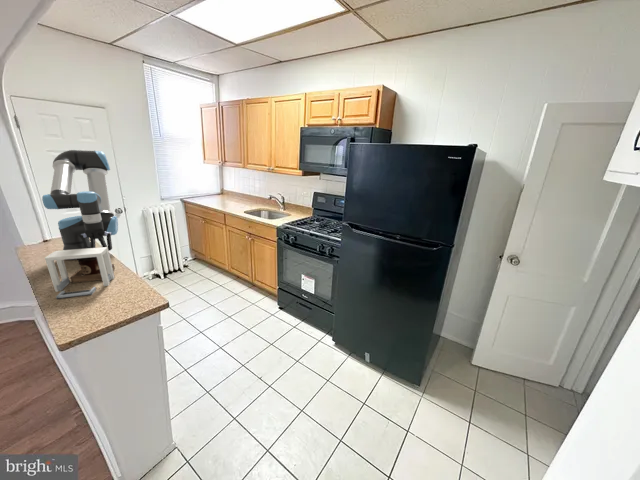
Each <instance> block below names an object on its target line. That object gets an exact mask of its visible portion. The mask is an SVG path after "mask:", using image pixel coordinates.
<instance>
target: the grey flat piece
mask: <svg viewBox="0 0 640 480" xmlns="http://www.w3.org/2000/svg"><path fill="white" fill-rule="evenodd" d="M96 291H97V288H96V286H93V287H92V288H91V289H83V290H73V291H67V292H65V290H61V291H59V293H58V294H57V295H55V298H56V300H61V299H63V300H64V299H70V298H71V299H72V298H78V297H87V296H93V294H94V293H95V292H96Z"/></svg>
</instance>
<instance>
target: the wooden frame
mask: <svg viewBox="0 0 640 480" xmlns="http://www.w3.org/2000/svg"><path fill="white" fill-rule="evenodd" d="M103 257H104V256H103ZM104 262H105V260H104ZM105 266H106V264H105ZM112 268H113V272H114V271H115V264H114V263H112ZM106 270H107V268H106ZM107 274H108V273H107ZM69 280H70V283H71V284H75V283H84V282H86V283H87V282H93V281H102V277H101V274H92V275H84V274H83V273H82V270H81V268H80V267H79V269H78V270H76V271H75V272H74V273H73V274H71V276H70V277H69Z"/></svg>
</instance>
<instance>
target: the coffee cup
mask: <svg viewBox="0 0 640 480" xmlns="http://www.w3.org/2000/svg"><path fill="white" fill-rule="evenodd" d="M75 261H77V262H78V265H79V269H80V268H81V270H82V273H83V274H82V275H92V274H101V272H100V268H99V264H98V260H97V257H89V258H77V259H76V260H75Z"/></svg>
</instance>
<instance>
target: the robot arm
mask: <svg viewBox="0 0 640 480" xmlns="http://www.w3.org/2000/svg"><path fill="white" fill-rule="evenodd" d="M52 168H53V170H54V171H53V176H52V182H51V188H50V193H49V194H48V193H47V194H43V196H42V197H41V200H42V204H43V207H44V208H45V209H47V210H63V209H64V210H65V209H79V210H80V214H81V215H76V216H75V215H74V216H70V217H66V218H62V219H60V220H59V221H58V223H57V226H58V230H59V233H60V234H59V235H60V237H61V241H62V244H63V248H62V250H73V249H87V248H96V240H98V241H99V242H100V244H101V245H100V246H101V247H108V250H109V252H110V251H111V250H113V243H112V236H115V235H117V234H118V231H119V219H118V216H115V214H114V213H113V212H111V209H110V208H111V207H110V201H109V194H108V187H107V181H106V176H107V174H108V171H110V170H111V167H110V165H109V162H108V159H107V156H106V153H105V152H104V151H102V150H101V151H99V150H80V149H79V150H75V149H71V150H70V149H69V150H65V151H63V152H61V153H59V154H58V155H57V156H56V157H55V158H54V160H53V162H52ZM76 171H82V172H83V173H84V174H85V175H86V177H87V185H88V191H85V190H84V191H79V192H76V193H72V184H73V183H72V182H73V175H74V173H75V172H76ZM105 237H106V240H105ZM69 260H70V261H73V260H75V261H77V260H76V259H64V261H69Z"/></svg>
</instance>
